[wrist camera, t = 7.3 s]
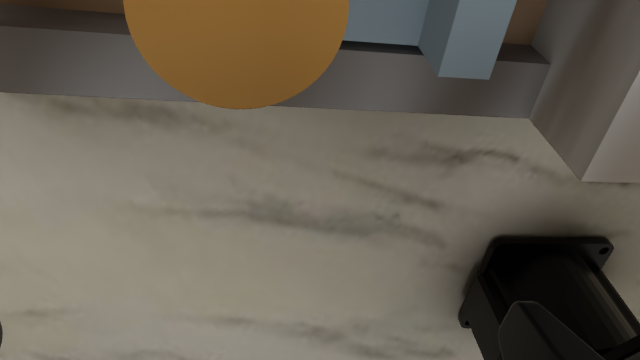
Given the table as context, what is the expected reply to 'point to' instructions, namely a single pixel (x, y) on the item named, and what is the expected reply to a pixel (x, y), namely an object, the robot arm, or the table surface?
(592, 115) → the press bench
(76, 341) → the table surface
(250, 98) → the press jaw
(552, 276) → the robot arm
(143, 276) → the table surface
